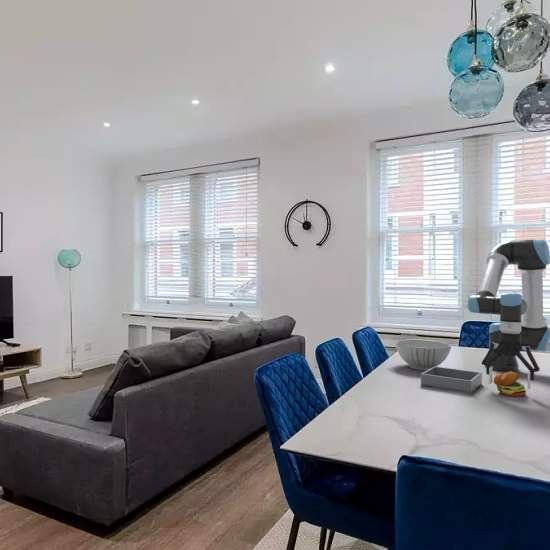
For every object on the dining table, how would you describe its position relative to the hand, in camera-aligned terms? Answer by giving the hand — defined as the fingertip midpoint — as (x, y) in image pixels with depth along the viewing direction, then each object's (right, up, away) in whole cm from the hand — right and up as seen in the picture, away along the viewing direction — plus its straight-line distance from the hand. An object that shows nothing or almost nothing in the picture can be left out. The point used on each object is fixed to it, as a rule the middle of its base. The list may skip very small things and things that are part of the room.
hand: (509, 385), depth 175 cm
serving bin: (-18, -3, +13) cm, 22 cm away
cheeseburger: (0, -4, 0) cm, 4 cm away
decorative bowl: (-19, -3, +47) cm, 51 cm away
